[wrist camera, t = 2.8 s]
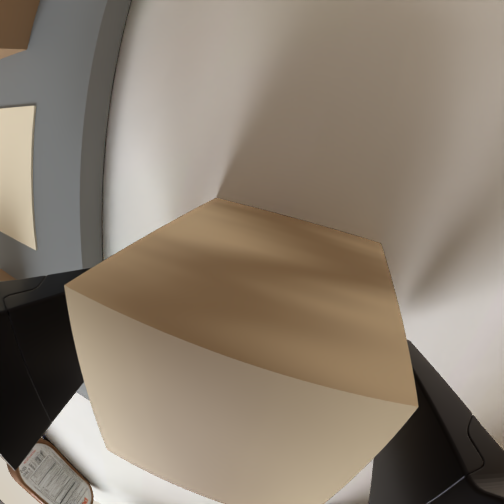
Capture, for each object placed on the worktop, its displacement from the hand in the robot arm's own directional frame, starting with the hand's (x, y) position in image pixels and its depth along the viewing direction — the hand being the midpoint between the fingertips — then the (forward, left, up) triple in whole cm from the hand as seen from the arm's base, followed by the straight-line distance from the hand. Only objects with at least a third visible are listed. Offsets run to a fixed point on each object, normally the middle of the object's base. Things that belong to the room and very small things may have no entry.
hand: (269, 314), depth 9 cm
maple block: (0, 0, -1) cm, 1 cm away
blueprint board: (+13, -2, -1) cm, 13 cm away
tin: (+20, +36, -2) cm, 41 cm away
